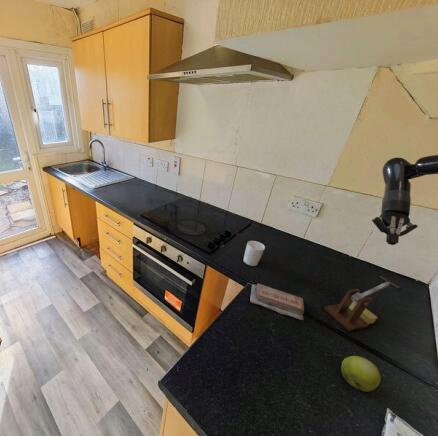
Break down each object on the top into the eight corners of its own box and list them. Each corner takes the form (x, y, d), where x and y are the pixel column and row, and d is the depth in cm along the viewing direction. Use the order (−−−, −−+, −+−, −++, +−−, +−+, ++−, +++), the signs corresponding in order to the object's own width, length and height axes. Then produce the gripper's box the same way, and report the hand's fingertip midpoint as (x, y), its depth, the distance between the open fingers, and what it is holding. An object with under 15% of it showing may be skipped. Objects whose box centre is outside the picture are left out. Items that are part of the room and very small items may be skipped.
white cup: (240, 256, 116) (245, 239, 111) (256, 258, 115) (262, 241, 111) (244, 265, 109) (249, 248, 104) (261, 268, 108) (267, 250, 104)
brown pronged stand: (341, 305, 90) (355, 282, 85) (367, 327, 81) (385, 303, 76) (323, 308, 88) (336, 285, 82) (348, 331, 79) (365, 307, 74)
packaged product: (303, 294, 87) (307, 312, 79) (299, 303, 90) (302, 321, 82) (254, 277, 94) (253, 293, 86) (251, 286, 96) (249, 302, 88)
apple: (373, 380, 65) (388, 364, 61) (368, 405, 59) (384, 388, 55) (340, 359, 70) (352, 343, 66) (332, 380, 64) (345, 363, 61)
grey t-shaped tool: (382, 278, 84) (383, 273, 82) (401, 289, 78) (403, 285, 77) (345, 295, 83) (346, 291, 82) (362, 308, 78) (363, 304, 77)
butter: (351, 305, 90) (355, 300, 89) (373, 322, 83) (377, 317, 82) (344, 307, 89) (348, 301, 88) (366, 324, 82) (370, 318, 81)
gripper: (380, 195, 89) (375, 236, 84) (426, 203, 84) (423, 246, 79) (369, 203, 95) (364, 241, 91) (410, 211, 90) (407, 251, 86)
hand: (392, 244), depth 85 cm, fingers closed
